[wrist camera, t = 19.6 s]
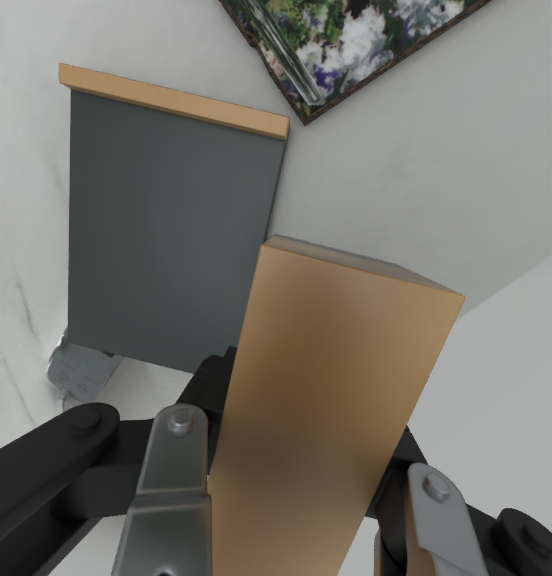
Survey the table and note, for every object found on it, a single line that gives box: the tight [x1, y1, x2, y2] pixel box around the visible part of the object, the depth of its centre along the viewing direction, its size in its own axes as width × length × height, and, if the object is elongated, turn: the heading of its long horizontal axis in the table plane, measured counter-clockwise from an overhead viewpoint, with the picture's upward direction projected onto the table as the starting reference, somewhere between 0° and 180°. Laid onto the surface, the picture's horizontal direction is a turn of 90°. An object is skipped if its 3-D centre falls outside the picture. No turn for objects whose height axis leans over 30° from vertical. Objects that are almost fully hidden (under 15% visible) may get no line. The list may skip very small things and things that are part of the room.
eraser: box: [207, 234, 465, 576], centre depth 9 cm, size 4×11×4 cm, turn 166°
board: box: [59, 63, 290, 374], centre depth 22 cm, size 22×16×2 cm
